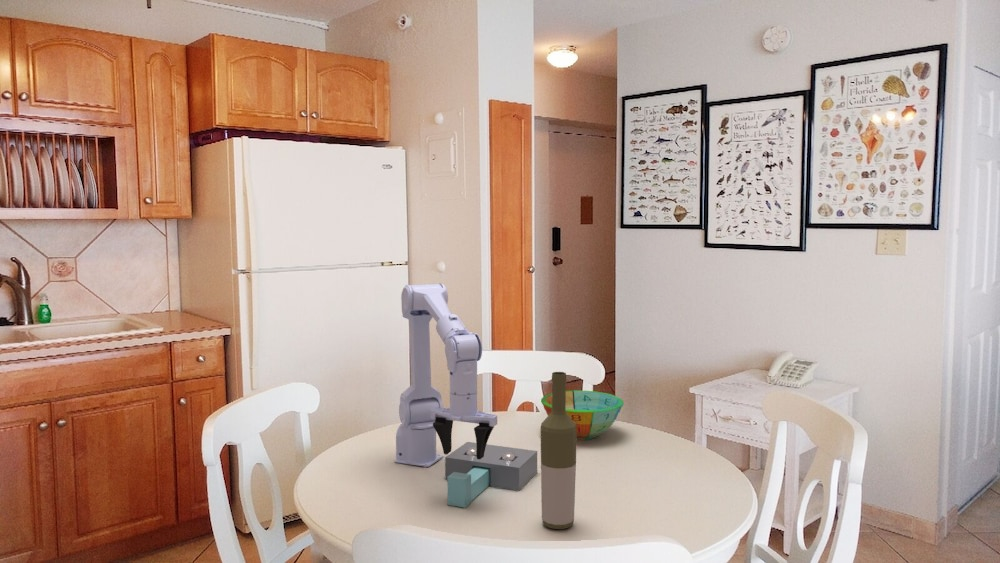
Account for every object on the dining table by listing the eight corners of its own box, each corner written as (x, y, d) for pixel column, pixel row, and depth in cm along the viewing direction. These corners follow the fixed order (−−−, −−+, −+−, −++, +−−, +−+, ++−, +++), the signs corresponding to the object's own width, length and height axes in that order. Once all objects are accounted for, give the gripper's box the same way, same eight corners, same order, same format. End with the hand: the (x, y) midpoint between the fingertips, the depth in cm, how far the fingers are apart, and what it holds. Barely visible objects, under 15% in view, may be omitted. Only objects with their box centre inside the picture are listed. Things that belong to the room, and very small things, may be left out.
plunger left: (464, 461, 164) (464, 450, 164) (469, 457, 167) (469, 446, 167) (475, 462, 163) (475, 451, 163) (480, 459, 166) (480, 448, 166)
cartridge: (447, 504, 148) (447, 476, 148) (477, 479, 162) (477, 454, 161) (465, 507, 147) (464, 479, 146) (493, 482, 160) (493, 456, 160)
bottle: (542, 515, 143) (543, 368, 140) (577, 518, 142) (579, 370, 139) (537, 530, 136) (538, 376, 134) (573, 533, 135) (575, 378, 132)
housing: (445, 479, 163) (445, 457, 162) (467, 462, 174) (467, 441, 173) (519, 490, 156) (519, 467, 155) (537, 472, 167) (537, 451, 166)
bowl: (629, 449, 183) (630, 411, 183) (542, 449, 184) (542, 411, 183) (616, 424, 206) (617, 390, 205) (539, 423, 206) (539, 389, 205)
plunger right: (500, 466, 161) (500, 455, 161) (505, 462, 164) (505, 451, 163) (511, 468, 160) (511, 456, 160) (516, 464, 163) (516, 453, 162)
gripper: (423, 392, 147) (424, 456, 149) (487, 400, 142) (487, 466, 143) (439, 385, 154) (439, 446, 155) (501, 391, 148) (501, 455, 150)
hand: (463, 455), depth 150 cm, fingers open, 7 cm apart
